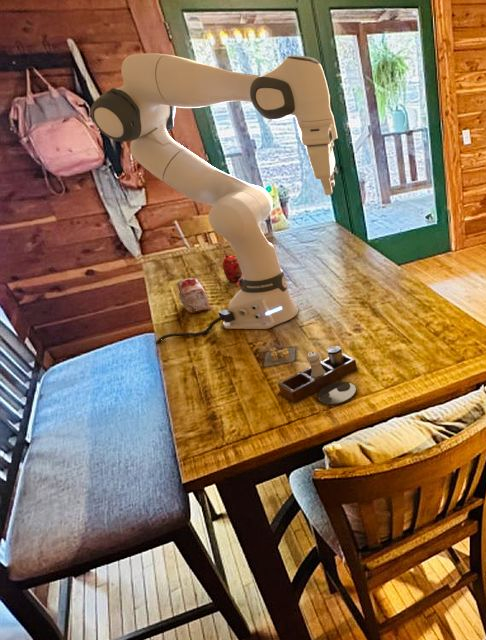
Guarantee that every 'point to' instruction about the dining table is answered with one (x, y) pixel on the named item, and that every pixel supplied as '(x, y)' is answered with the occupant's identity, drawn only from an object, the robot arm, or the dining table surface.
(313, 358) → the rook chess piece
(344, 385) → the coaster
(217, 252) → the dining table surface
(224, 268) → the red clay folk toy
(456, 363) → the dining table surface
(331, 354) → the spice tin
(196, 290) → the food item
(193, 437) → the dining table surface
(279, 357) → the dice set
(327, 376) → the spice rack
